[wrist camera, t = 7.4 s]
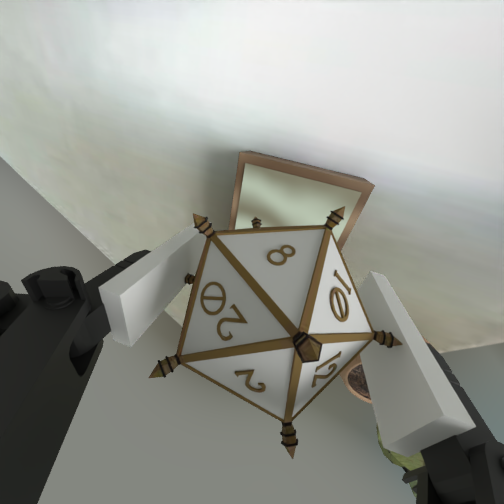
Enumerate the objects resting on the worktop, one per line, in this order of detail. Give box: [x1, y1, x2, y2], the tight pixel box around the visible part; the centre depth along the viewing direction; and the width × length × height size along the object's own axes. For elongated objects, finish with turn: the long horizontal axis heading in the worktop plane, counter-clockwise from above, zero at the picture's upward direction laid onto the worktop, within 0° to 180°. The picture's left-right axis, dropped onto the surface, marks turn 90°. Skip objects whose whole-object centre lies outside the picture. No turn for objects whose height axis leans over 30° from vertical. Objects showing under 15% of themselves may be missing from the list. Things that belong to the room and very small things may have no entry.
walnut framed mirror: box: [229, 151, 375, 251], centre depth 29 cm, size 16×16×5 cm
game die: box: [149, 206, 403, 458], centre depth 9 cm, size 9×8×10 cm
